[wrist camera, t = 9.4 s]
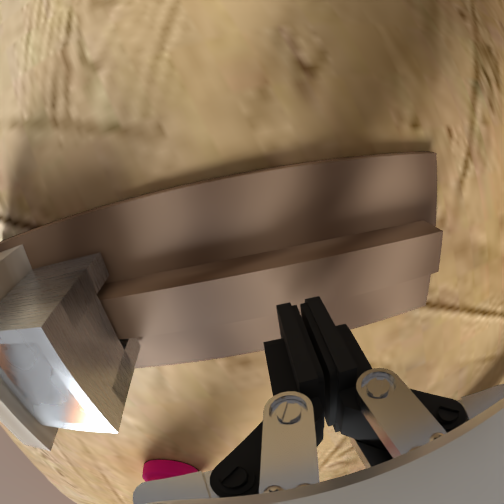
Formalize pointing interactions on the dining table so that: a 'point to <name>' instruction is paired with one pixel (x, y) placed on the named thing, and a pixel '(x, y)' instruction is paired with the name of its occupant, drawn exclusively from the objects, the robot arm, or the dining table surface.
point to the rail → (245, 258)
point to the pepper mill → (165, 469)
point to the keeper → (65, 348)
